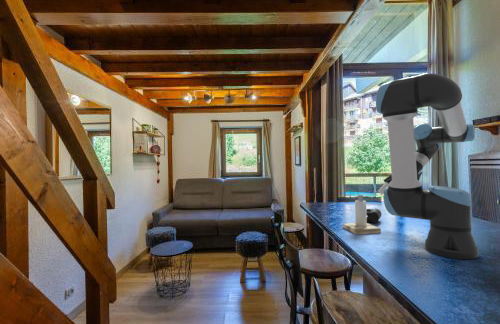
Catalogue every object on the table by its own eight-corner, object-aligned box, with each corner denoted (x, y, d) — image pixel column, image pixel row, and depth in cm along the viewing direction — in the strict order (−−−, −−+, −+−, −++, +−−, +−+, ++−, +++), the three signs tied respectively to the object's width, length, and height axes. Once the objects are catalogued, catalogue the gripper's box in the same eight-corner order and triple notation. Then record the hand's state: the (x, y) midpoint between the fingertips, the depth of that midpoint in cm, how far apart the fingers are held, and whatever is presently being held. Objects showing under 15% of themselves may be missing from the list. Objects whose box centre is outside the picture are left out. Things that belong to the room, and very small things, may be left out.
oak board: (380, 232, 114) (380, 228, 114) (356, 234, 113) (356, 230, 113) (365, 226, 126) (365, 222, 126) (343, 227, 125) (343, 223, 125)
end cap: (379, 225, 128) (378, 212, 128) (364, 223, 132) (363, 210, 132) (381, 220, 136) (381, 208, 136) (367, 219, 140) (367, 207, 140)
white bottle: (369, 226, 117) (368, 195, 117) (359, 227, 117) (358, 195, 117) (362, 224, 122) (362, 194, 122) (353, 224, 122) (352, 194, 122)
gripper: (443, 169, 112) (414, 203, 110) (401, 168, 137) (377, 196, 135) (432, 157, 111) (403, 191, 109) (393, 158, 136) (368, 186, 134)
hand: (389, 194), depth 122 cm, fingers open, 13 cm apart
